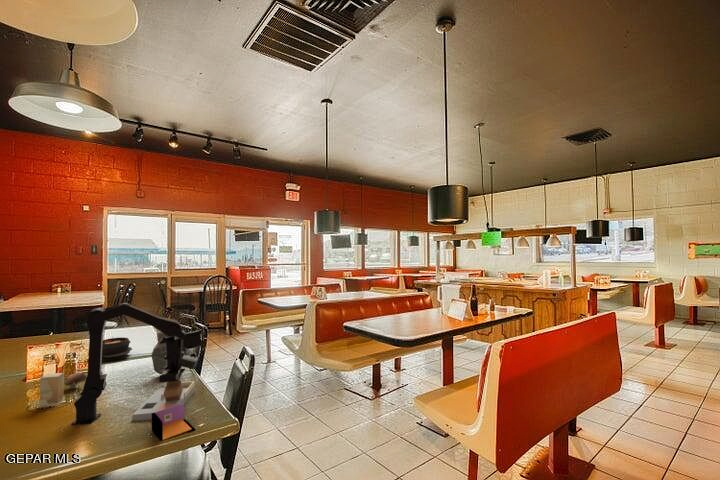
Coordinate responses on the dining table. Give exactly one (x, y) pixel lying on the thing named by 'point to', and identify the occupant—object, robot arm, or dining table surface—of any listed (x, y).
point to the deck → (162, 401)
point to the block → (173, 390)
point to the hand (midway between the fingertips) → (176, 389)
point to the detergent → (159, 354)
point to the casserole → (115, 347)
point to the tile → (164, 406)
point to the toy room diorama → (170, 422)
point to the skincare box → (51, 389)
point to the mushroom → (75, 379)
